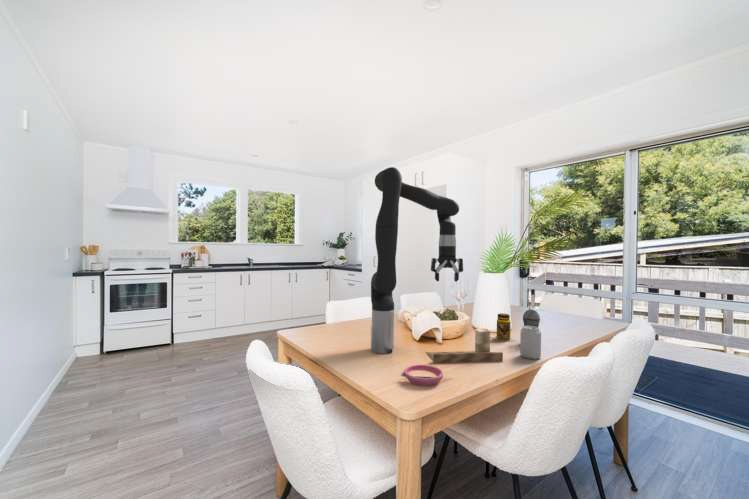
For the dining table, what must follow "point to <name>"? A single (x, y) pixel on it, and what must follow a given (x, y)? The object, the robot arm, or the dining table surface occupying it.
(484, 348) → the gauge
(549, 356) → the dining table surface
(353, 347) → the dining table surface
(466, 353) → the board
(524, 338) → the grey square jar
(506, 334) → the condiment
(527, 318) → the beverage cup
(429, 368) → the purple round open piece
